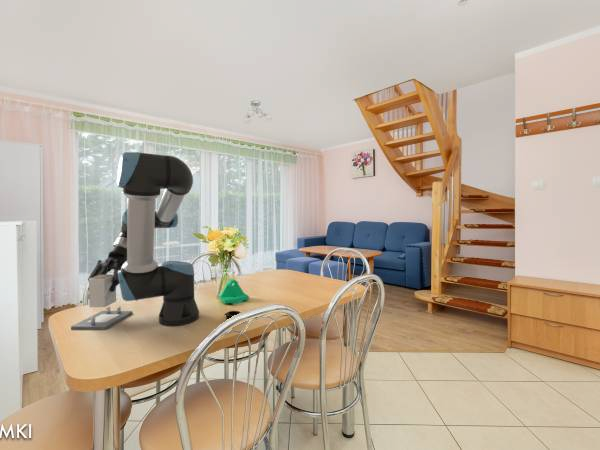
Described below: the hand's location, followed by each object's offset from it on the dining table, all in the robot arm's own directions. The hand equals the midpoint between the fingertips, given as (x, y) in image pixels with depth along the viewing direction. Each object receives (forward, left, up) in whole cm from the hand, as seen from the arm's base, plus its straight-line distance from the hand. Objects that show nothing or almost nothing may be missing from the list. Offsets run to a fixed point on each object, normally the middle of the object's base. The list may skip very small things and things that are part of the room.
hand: (96, 298), depth 116 cm
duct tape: (-51, -6, -10) cm, 53 cm away
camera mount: (-46, -30, -10) cm, 56 cm away
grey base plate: (0, -3, -10) cm, 10 cm away
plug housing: (0, -4, -3) cm, 5 cm away
